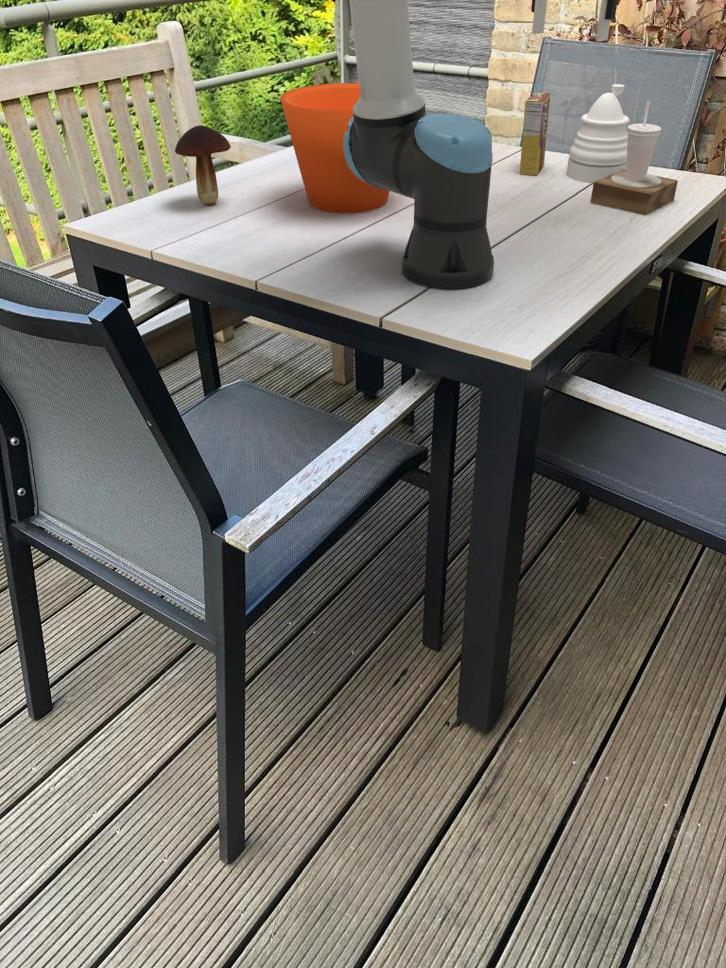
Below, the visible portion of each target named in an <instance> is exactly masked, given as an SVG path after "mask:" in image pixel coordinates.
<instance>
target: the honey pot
mask: <svg viewBox="0 0 726 968" xmlns="http://www.w3.org/2000/svg"><path fill="white" fill-rule="evenodd" d="M624 90H625V85H624V84H622V83H621V84H620V83H618V84H617V83H616V84H615V83H613V84H611V92H606V93H603V94H602V95H600V96H599V97H598V98H597V99H596V100H595V102H594V103H593V105H591V108H590V109H589V110H588V112H587V113H584V114H583V115H582V116H581V118H580V119H581V122H582V124H581V126H580V128H579V130H578V131H577V132H576V137H575V138H574V140H573V143H572V144H573V145H571V146H570V148H569V154H568V156H569V157H568V159H567V168H566V176H567V177H568V178H570V179H572V180H574V181H578V182H582V183H587V184H593V183H594V182H595V181H597V180H600V179H602V178H604V177H607V176H609V175H611V174H614V173H616V172H618V171H621V170H623V169H624V170H626V163H627V141H628V133H627V126H626V125H628V124H629V123H630V122H631V121H630V118H629V116H627V115H625V114H624V112H623V109H622V106H621V103H620V101H619V99H618V98H617V96H620V95H622V93H623V92H624Z"/></svg>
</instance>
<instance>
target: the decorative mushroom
mask: <svg viewBox="0 0 726 968" xmlns="http://www.w3.org/2000/svg"><path fill="white" fill-rule="evenodd" d="M231 148H232V145H231V144H230V142H229V141H228V139H227V138H226V137H225V136H224V135H223V134H222V133H220V132H219V131H217V130H215V129H213V128H211V127H209V126H206V125H196V126H195V125H194V126H193V127H191V128H190V129H188V130H187V131H186V132H184V133H183V134H182V136H181V137H180V138H179V139H178V141H177V144H176V146H175V148H174V151H175V152H174V153H176V155H180V156H183V157H190V158H193V157H194V158H195V182H196V183H195V184H196V194H197V198H198V200H199V201H200V202H201V203H202V204H204V205H213V204H214V203H216V202H217V201H218V199H219V188H218V181H217V180H218V179H217V175H216V170H215V167H214V163H213V158H212V154H217V153H223V152H227V151H229V150H231Z"/></svg>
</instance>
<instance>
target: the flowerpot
mask: <svg viewBox="0 0 726 968" xmlns="http://www.w3.org/2000/svg"><path fill="white" fill-rule="evenodd" d="M359 98H360V88H359V82H346V83H345V82H341V83H339V82H338V83H337V82H336V83H335V82H334V83H324V84H323V83H322V84H314V85H307V86H301V87H298V88H294V89H290V90H287V91H285V92H283V93H282V94H280V97H279V99H280V102H281V105H282V109H283V114H284V116H285V117H284V118H285V121H286V125H287V127H288V132H289V135H290V139H291V142H292V147H293V150H294V153H295V157H296V160H297V165H298V169H299V173H300V175H301V179H302V182H303V187H304V191H305V194H306V198H307V201H308V204H309V205H310V206H311V208H314V209H315V210H319V211H323V212H327V213H333V214H359V213H366V212H370V211H375V210H377V209H380V208H382V207H384V206H385V205H387V202H388V199H389V195H390V191H388V190H385V189H379V188H376V187H373V186H372V185H370V184H368V183H366V182H364V181H362V180H360V179H359V178H358V177H356V176H355V175H354V174H353V172H352V171H351V170H350V168H349V166H348V164H347V162H346V159H345V155H344V148H343V141H344V134H345V132H347V130H348V126H347V125H348V123H349V121H350V120H351V118H352V117H353V106H354V105H355V104H356V102H357V101H358V100H359ZM383 205H384V206H383ZM374 209H375V210H374Z"/></svg>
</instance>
